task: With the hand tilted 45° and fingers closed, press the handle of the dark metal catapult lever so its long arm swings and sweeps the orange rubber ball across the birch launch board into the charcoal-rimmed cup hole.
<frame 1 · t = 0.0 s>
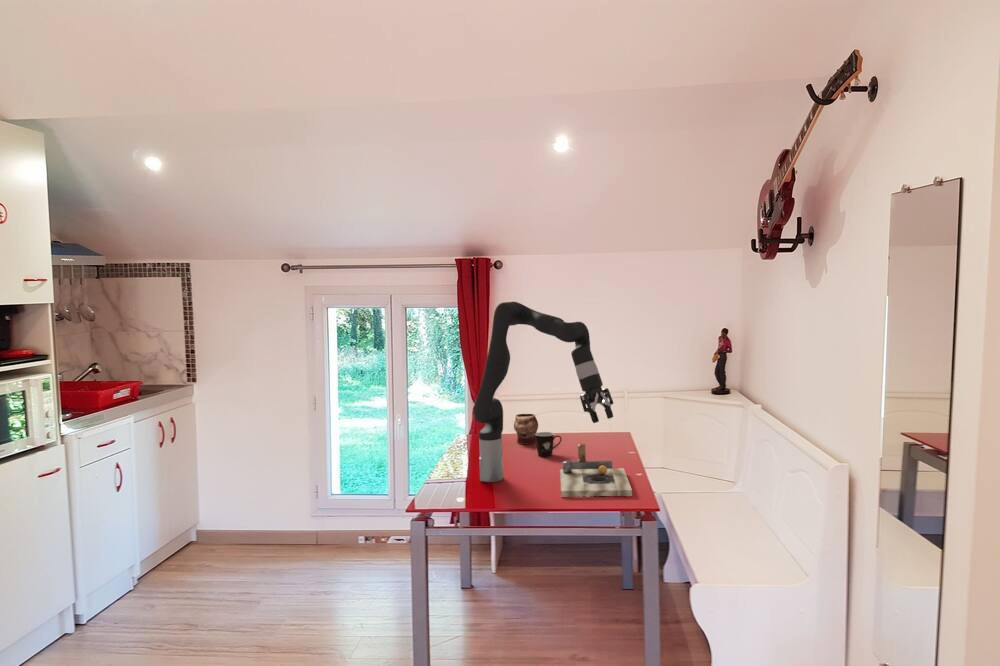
hand: (603, 420, 230), 31 cm above the table, tool tilted 20°, fingers open, 8 cm apart
ball: (602, 469, 265), point 4 cm above the table, touching launch board
catapult lever: (587, 458, 268), point 8 cm above the table, hinge at 0.0°
launch board: (594, 485, 259), on the table
coffee mug: (548, 455, 306), on the table
decorative planter: (526, 442, 333), on the table
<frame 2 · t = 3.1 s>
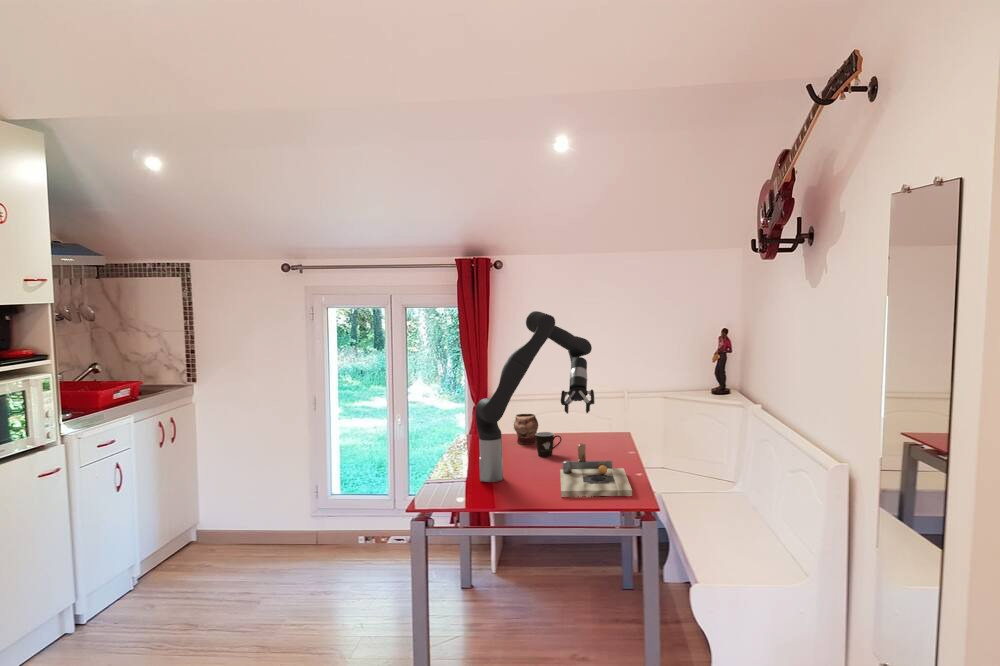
hand: (577, 412, 281), 24 cm above the table, tool tilted 40°, fingers open, 8 cm apart
nothing on the table moved.
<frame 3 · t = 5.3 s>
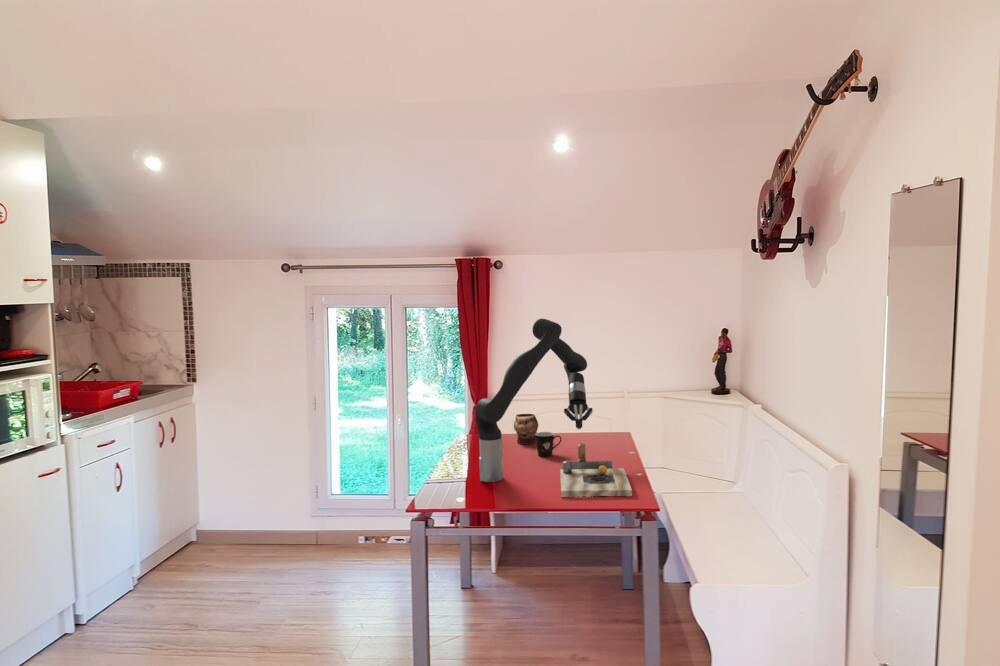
hand: (579, 427, 283), 17 cm above the table, tool tilted 45°, fingers closed
nothing on the table moved.
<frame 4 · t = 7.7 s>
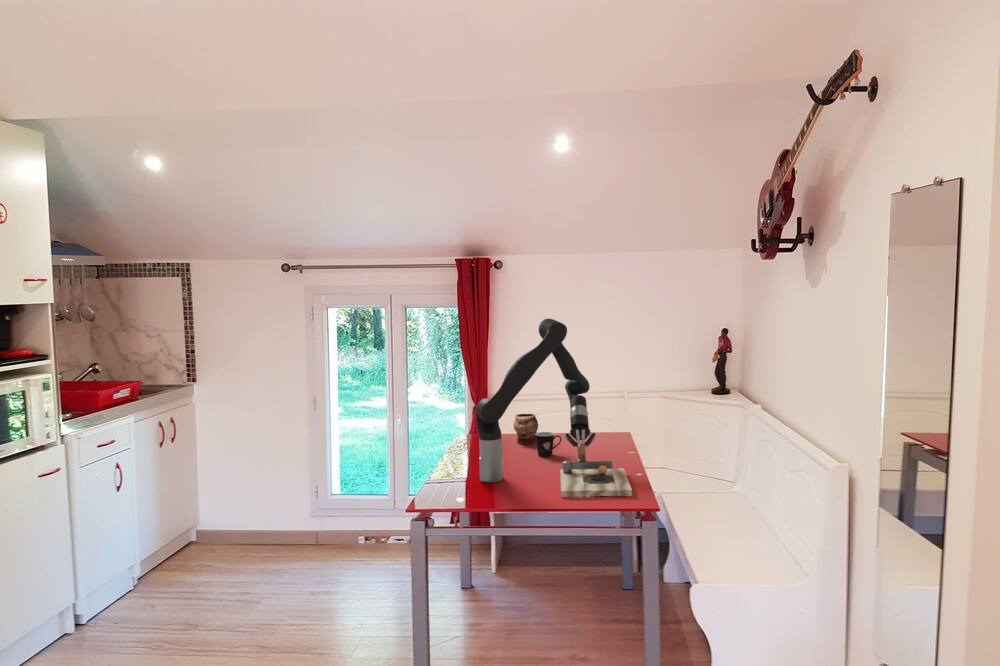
hand: (581, 454, 270), 9 cm above the table, tool tilted 45°, fingers closed
catapult lever: (587, 458, 268), point 8 cm above the table, hinge at 0.2°, touching gripper
everything else where it was.
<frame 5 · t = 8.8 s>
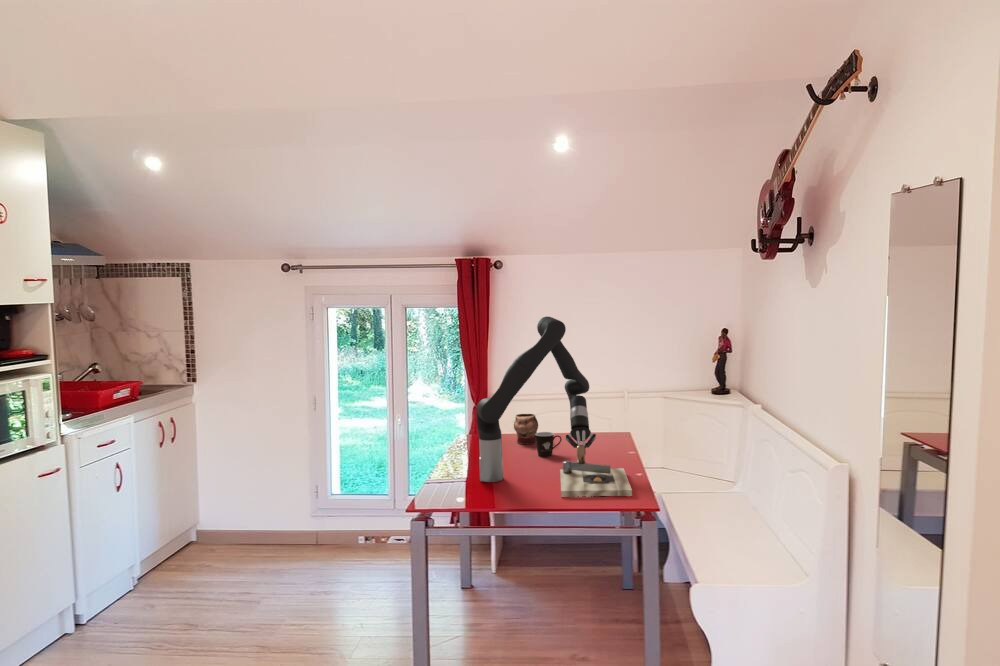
hand: (582, 456, 268), 9 cm above the table, tool tilted 45°, fingers closed
ball: (597, 481, 258), point 2 cm above the table, tilted 52°
catapult lever: (586, 460, 265), point 8 cm above the table, hinge at 23.0°, touching gripper
everything else where it was.
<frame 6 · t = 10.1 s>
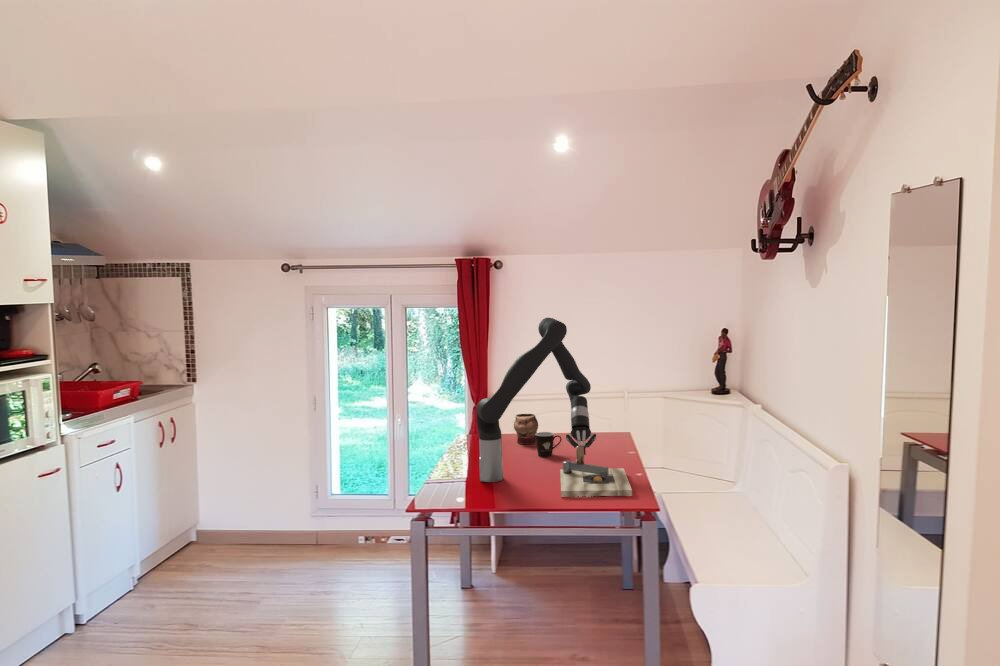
hand: (582, 455, 268), 9 cm above the table, tool tilted 45°, fingers closed
ball: (597, 480, 259), point 2 cm above the table, tilted 90°
catapult lever: (584, 461, 264), point 8 cm above the table, hinge at 30.8°
everything else where it was.
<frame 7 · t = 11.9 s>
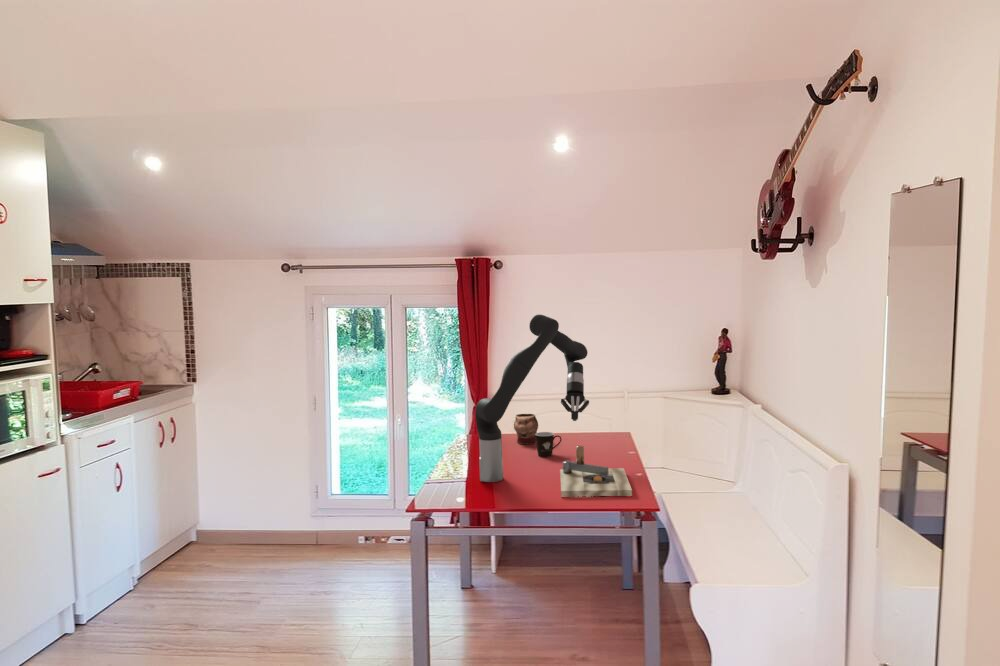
hand: (574, 420, 286), 20 cm above the table, tool tilted 40°, fingers closed
ball: (597, 480, 260), point 2 cm above the table, tilted 100°
everything else where it was.
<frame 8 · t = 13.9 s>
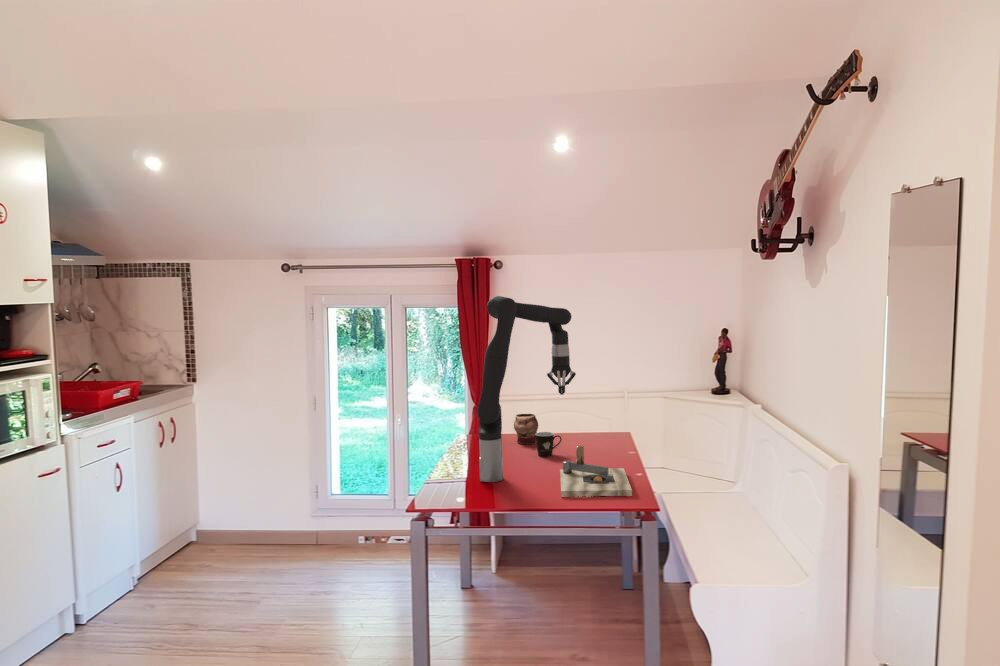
hand: (561, 394, 288), 31 cm above the table, tool pointing down, fingers closed
ball: (597, 480, 259), point 2 cm above the table, tilted 88°
everything else where it was.
at the end: ball 0.4 cm from the target spot on the launch board, point 1.7 cm above the launch board's base; catapult lever at +31° (first picture: +0°) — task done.
